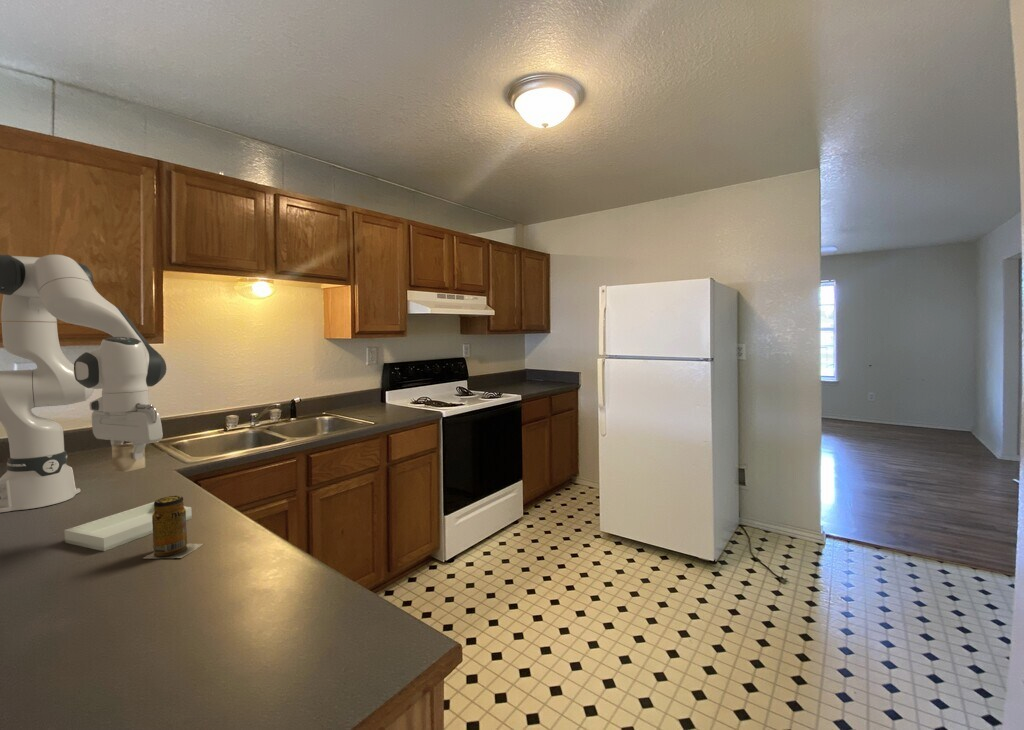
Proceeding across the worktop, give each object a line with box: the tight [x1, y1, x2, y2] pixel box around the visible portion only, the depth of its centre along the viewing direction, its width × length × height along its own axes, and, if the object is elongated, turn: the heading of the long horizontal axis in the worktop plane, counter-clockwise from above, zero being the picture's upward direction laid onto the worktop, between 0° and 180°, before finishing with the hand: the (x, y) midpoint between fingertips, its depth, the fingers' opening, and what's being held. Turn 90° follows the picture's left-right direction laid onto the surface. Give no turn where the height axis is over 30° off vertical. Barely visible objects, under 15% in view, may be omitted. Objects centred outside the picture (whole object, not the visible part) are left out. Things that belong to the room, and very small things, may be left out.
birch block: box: [111, 442, 146, 473], centre depth 114 cm, size 4×4×6 cm
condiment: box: [143, 495, 204, 560], centre depth 103 cm, size 7×8×12 cm
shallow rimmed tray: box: [64, 501, 193, 552], centre depth 115 cm, size 14×20×3 cm
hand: (129, 458), depth 114 cm, fingers closed on birch block, 4 cm apart
